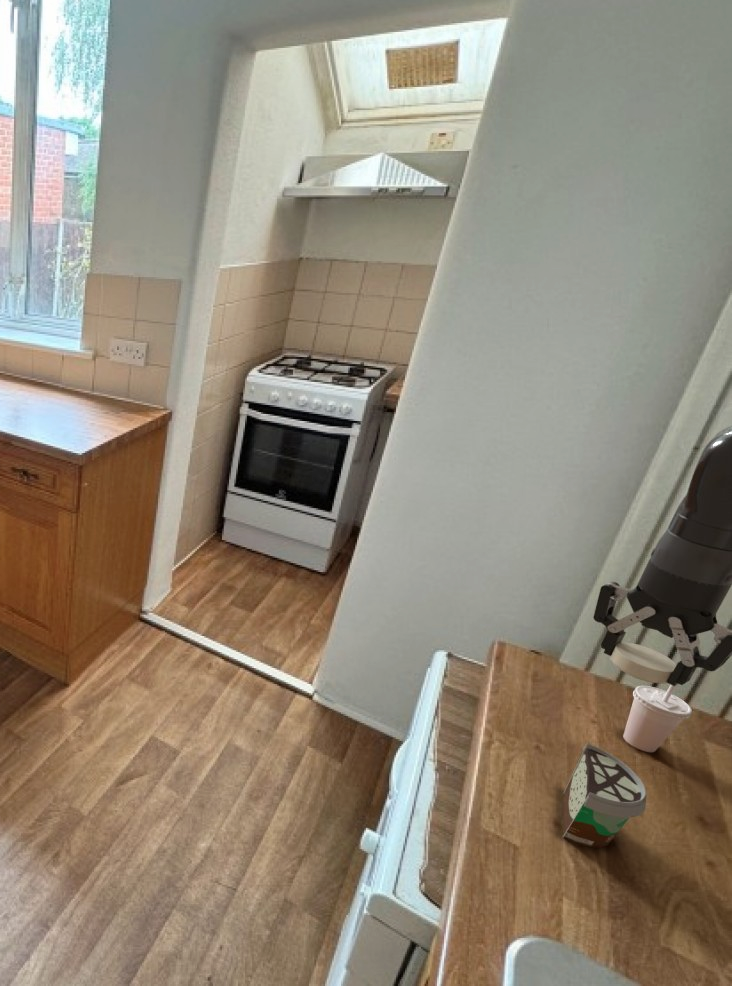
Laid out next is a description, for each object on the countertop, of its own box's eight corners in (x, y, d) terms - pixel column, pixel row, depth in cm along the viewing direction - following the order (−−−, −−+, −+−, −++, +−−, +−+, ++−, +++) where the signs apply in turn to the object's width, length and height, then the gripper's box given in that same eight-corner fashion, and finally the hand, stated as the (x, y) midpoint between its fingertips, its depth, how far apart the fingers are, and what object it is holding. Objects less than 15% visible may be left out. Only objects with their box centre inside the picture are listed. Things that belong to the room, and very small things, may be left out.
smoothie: (616, 748, 99) (652, 681, 94) (607, 723, 104) (641, 658, 99) (671, 767, 95) (712, 699, 90) (659, 740, 100) (697, 674, 95)
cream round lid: (678, 678, 85) (686, 664, 84) (658, 691, 82) (666, 677, 81) (620, 652, 90) (627, 637, 89) (600, 663, 88) (607, 649, 87)
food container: (624, 878, 79) (656, 825, 75) (561, 846, 83) (589, 795, 79) (618, 815, 88) (647, 764, 84) (562, 789, 91) (587, 740, 88)
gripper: (785, 589, 75) (724, 693, 81) (632, 537, 87) (589, 631, 94) (762, 603, 72) (700, 710, 78) (607, 548, 85) (564, 644, 91)
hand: (640, 667), depth 86 cm, fingers closed on cream round lid, 6 cm apart
